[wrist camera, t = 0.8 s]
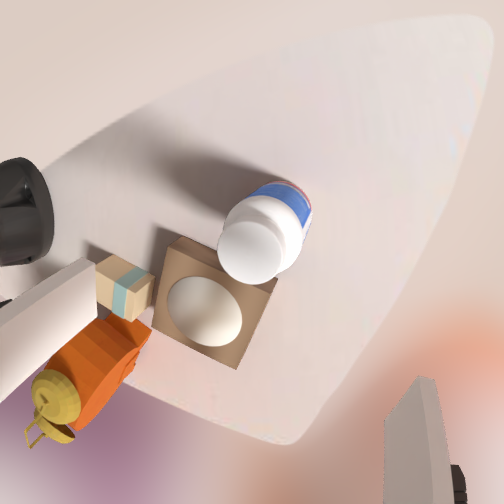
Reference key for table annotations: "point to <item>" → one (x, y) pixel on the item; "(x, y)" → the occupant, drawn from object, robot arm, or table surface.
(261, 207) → the pill bottle
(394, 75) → the table surface
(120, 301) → the carton
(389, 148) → the table surface
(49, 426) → the alarm clock
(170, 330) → the podium
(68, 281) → the robot arm
